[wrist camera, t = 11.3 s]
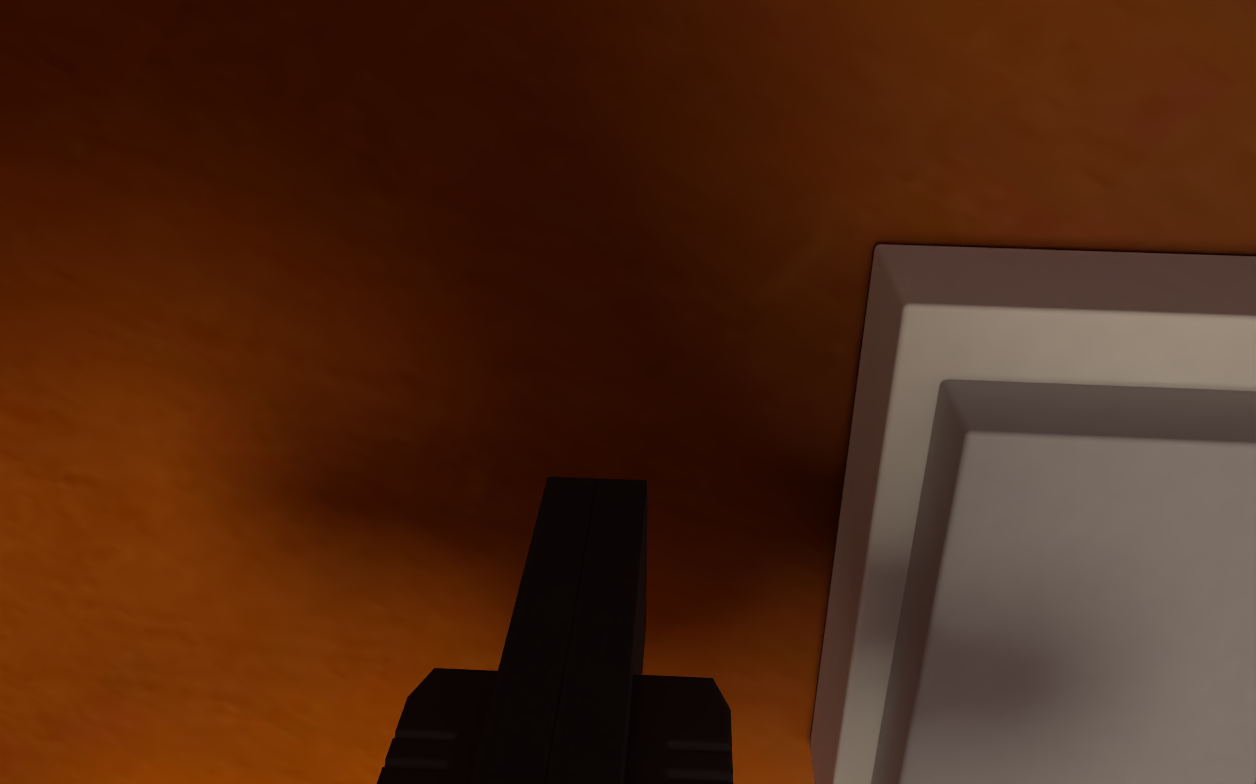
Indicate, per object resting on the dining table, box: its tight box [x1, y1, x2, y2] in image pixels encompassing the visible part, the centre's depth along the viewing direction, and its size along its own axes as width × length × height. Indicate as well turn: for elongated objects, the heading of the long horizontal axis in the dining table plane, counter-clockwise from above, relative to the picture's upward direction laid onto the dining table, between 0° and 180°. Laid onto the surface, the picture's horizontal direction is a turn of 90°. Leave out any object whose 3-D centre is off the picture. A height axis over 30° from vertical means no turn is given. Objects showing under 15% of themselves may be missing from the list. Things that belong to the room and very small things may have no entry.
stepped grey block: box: [810, 244, 1256, 784], centre depth 15 cm, size 10×6×4 cm, turn 179°
